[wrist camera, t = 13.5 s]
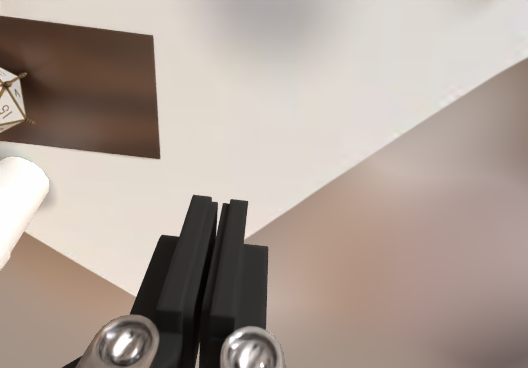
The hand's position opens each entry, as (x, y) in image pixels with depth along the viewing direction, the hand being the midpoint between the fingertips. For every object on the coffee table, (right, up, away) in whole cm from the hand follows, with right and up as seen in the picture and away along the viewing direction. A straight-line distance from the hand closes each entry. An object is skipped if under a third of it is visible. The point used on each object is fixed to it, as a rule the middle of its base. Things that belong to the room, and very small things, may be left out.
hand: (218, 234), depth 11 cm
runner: (-22, +11, +26) cm, 36 cm away
